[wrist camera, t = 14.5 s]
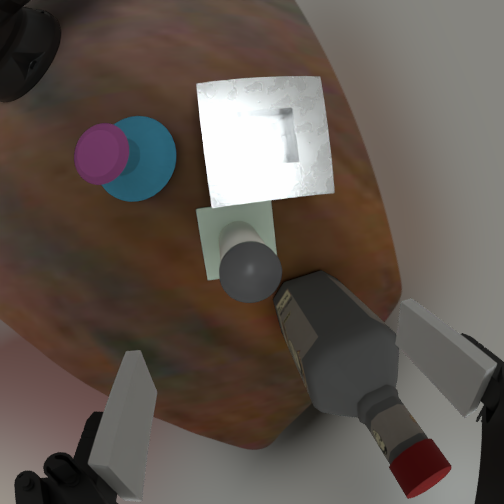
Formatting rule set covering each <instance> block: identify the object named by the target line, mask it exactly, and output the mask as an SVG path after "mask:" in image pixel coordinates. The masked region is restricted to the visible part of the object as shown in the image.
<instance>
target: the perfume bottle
mask: <svg viewBox="0 0 504 504" xmlns="http://www.w3.org/2000/svg"><path fill="white" fill-rule="evenodd" d="M74 162H75V166H76V169H77V172H78V173H79V175H80V176H81V177H82V178H83V179H84V180H85V181H87V182H89V183H91V184H96V185H102V186H103V188H104V189H105V190H106V191H107V192H108V193H109V194H111V195H112V196H114V197H115V198H118V199H120V200H123V201H129V202H133V201H141V200H145V199H148V198H150V197H152V196H154V195H155V194H156V193H158V192H159V191H160V190H161V189H162V188H163V187H164V186H165V185H166V184H167V182H168V181H169V179H170V178H171V176H172V174H173V171H174V169H175V164H176V148H175V143H174V141H173V138H172V136H171V134H170V133H169V131H168V130H167V129H166V128H165V127H164V126H163V125H162V124H161V123H159V122H158V121H156V120H154V119H152V118H149V117H143V116H134V117H129V118H125V119H123V120H121V121H119V122H117V123H115V124H114V125H112V124H108V123H102V124H97V125H94V126H92V127H91V128H89V129H88V130H87V131H85V132H84V133H83V135H82V136H81V137H80V139H79V141H78V142H77V145H76V148H75V153H74Z"/></svg>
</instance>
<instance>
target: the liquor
mask: <svg viewBox="0 0 504 504" xmlns="http://www.w3.org/2000/svg"><path fill="white" fill-rule="evenodd" d="M273 302H274V305H275V309H276V313H277V317H278V320H279V324H280V328H281V332H282V334H283V336H284V339H285V341H286V343H287V345H288V348H289V350H290V352H291V355H292V357H293V359H294V361H295V364H296V366H297V368H298V371H299V373H300V375H301V377H302V380H303V382H304V384H305V386H306V389H307V391H308V393H309V396H310V398H311V400H312V402H313V405H314V406H315V407H316V408H317V409H319V410H320V411H321V412H325V413H330V414H335V415H340V416H349V417H358V418H359V420H360V422H361V423H363V424H365V425H366V426H367V428H368V429H369V431H370V432H371V434H372V436H373V437H374V439H375V441H376V442H377V444H378V446H379V447H380V449H381V450H382V452H383V454H384V455H385V457H386V459H387V460H388V462H389V463H390V467H389V468H390V470H391V472H392V473H393V475H394V476H395V478H396V480H397V482H398V483H399V485H400V487H401V488H402V490H403V492H404V493H405V495H406V497H407V498H408V499H409V498H413V497H415V496H418V495H419V494H421V493H423V492H425V491H427V490H428V489H430V488H431V487H433V486H434V485H435V484H437V483H438V482H439V481H440V480H441V479H443V478H444V477H445V476H446V475H447V474H448V473H449V471H450V470H451V465H450V463H449V462H448V461H447V460H446V458H445V457H444V455H443V454H442V452H441V451H440V449H439V448H438V447H437V445H436V444H435V443H434V441H433V440H432V439H428V438H427V436H426V435H425V433H424V432H423V430H422V429H421V428H420V426H419V425H418V423H417V422H416V421H415V419H414V418H413V417H412V415H411V414H410V413H409V411H408V410H407V409H406V407H405V406H404V404H403V403H402V402H401V400H400V399H399V397H398V392H397V390H396V388H395V387H396V383H397V376H398V357H399V348H398V347H397V346H396V345H395V342H396V334H395V332H393V331H392V330H391V329H390V328H389V327H388V326H387V325H386V324H385V323H384V322H383V321H382V320H381V319H380V318H379V317H378V316H377V315H376V314H374V313H373V312H372V311H371V310H370V309H369V308H368V307H367V306H366V305H365V304H364V303H363V302H362V301H360V300H359V299H358V298H357V297H356V296H355V295H354V294H353V293H352V292H351V291H350V290H349V289H347V288H346V287H345V286H344V285H343V284H342V283H341V282H340V281H339V280H338V279H336V278H334V277H333V276H331V275H329V274H327V273H325V272H324V271H322V270H321V271H318V272H315V273H311V274H308V275H305V276H302V277H299V278H296V279H293V280H290V281H286V282H284V283H283V284H282V286H281V288H280V289H279V291H278V292H277V294H276V296H275V297H274V299H273Z"/></svg>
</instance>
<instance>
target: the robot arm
mask: <svg viewBox="0 0 504 504" xmlns="http://www.w3.org/2000/svg"><path fill="white" fill-rule="evenodd" d="M29 1H30V0H0V102H10V101H13V100H15V99H17V98H19V97H21V96H22V95H24V94H25V93H26V92H28V91H29V90H30V89H31V88H32V87H33V86H34V85H35V84H36V83H37V82H38V81H39V80H40V78H41V77H42V76H43V75H44V73H45V72H46V70H47V69H48V67H49V66H50V64H51V62H52V60H53V58H54V56H55V54H56V51H57V49H58V46H59V42H60V34H61V31H60V25H59V23H58V21H57V20H56V19H55V18H54V17H53V16H52V15H51V14H50V13H48V12H46V11H44V10H34V9H32V8H27V7H23V6H24V5H26V4H27V3H28V2H29ZM395 345H396V346H397V347H398V348H399V349H400V350H401V351H402V352H403V353H404V354H405V355H406V356H407V357H408V358H409V359H410V360H411V361H412V362H413V363H414V364H415V365H416V366H417V367H418V368H419V369H420V370H421V371H422V372H423V374H424V375H425V376H426V377H427V378H428V379H429V380H430V381H431V382H432V383H433V384H434V385H435V386H436V387H437V388H438V390H439V391H440V392H441V393H442V394H443V395H444V396H445V397H446V398H447V399H448V400H449V401H450V402H451V404H452V405H453V406H454V407H455V408H456V409H457V410H458V411H459V412H460V414H461V415H462V416H463V417H464V418H466V417H467V416H469V415H470V414H472V413H473V412H474V411H476V409H477V407H478V405H479V403H480V401H481V402H482V403H483V404H484V406H483V408H482V410H481V411H480V413H479V416H478V417H477V420H476V422H478V421H479V419H480V417H481V416H482V420H481V422H482V444H481V459H480V470H479V478H478V486H477V493H476V499H475V504H504V362H503V361H502V360H501V359H499V358H498V357H497V356H496V355H494V354H493V353H492V352H491V351H489V350H488V349H487V348H484V346H483V345H482V344H480V343H478V342H477V341H476V340H475V339H474V338H472V337H471V336H468V335H466V334H463V333H462V334H459V333H458V332H457V331H456V330H454V329H453V328H451V327H450V326H449V325H448V324H446V323H445V322H443V321H442V320H441V319H440V318H438V317H437V316H436V315H434V314H433V313H432V312H430V311H429V310H427V309H426V308H424V307H423V306H422V305H421V304H419V303H418V302H416V301H415V300H413V299H412V298H411V299H408V300H404V301H401V304H400V313H399V321H398V329H397V335H396V342H395ZM156 396H157V390H156V388H155V386H154V383H153V381H152V379H151V376H150V374H149V371H148V369H147V366H146V363H145V361H144V358H143V356H142V353H141V350H137V351H126V353H125V355H124V358H123V360H122V363H121V366H120V368H119V371H118V373H117V376H116V379H115V382H114V384H113V387H112V390H111V393H110V395H109V398H108V401H107V404H106V407H105V410H104V412H93V413H92V415H91V416H90V417H89V418H88V419H87V421H86V424H85V427H84V431H83V432H82V435H81V439H80V441H79V443H78V447H77V449H76V452H75V455H74V458H72V457H71V456H70V455H69V454H67V453H61V452H58V453H55V454H52V455H51V456H49V457H48V458H47V460H46V461H45V463H44V467H43V469H44V473H45V474H46V475H47V476H48V478H40V477H39V476H38V475H37V474H36V473H35V472H32V471H23V472H21V473H20V474H19V475H18V476H17V478H16V479H15V484H14V486H15V498H16V504H118V503H117V502H116V498H117V494H118V495H119V496H120V497H121V498H122V499H123V500H127V501H137V502H142V497H143V487H144V478H145V470H146V462H147V454H148V446H149V440H150V433H151V426H152V420H153V414H154V408H155V402H156Z"/></svg>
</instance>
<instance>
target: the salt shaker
mask: <svg viewBox="0 0 504 504" xmlns="http://www.w3.org/2000/svg"><path fill="white" fill-rule="evenodd" d="M219 252H220V262H221V263H220V267H219V277H220V282H221V285H222V287H223V289H224V290H225V292H226V293H227V294H228V295H229V296H230V297H232V298H233V299H235V300H237V301H240V302H245V303H253V302H258V301H261V300H264V299H266V298H267V297H269V296H270V295H271V294H272V293H273V292H274V291H275V290H276V289H277V287H278V285H279V283H280V281H281V276H282V267H281V263H280V261H279V258H278V257H277V255H276V254H275V253H274V252H273V250H272V249H271V248H269V247H268V246H266V244H265V243H264V241H263V240H262V239H261V237H260V236H259V235H258V233H257V232H256V230H255V229H254V228H253V227H252V226H251V225H250V224H248V223H246V222H243V221H234V222H231V223H229V224H227V225H226V226H225V227H224V228H223V229H222V230H221V232H220V235H219Z"/></svg>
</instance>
